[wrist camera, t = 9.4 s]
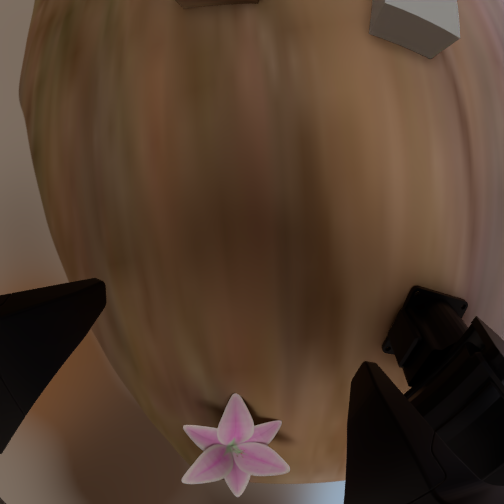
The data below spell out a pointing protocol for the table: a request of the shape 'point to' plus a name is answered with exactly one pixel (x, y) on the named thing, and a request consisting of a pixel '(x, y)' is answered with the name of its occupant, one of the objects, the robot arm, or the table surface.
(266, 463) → the lily
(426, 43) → the slate-grey block
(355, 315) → the table surface
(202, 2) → the walnut block
